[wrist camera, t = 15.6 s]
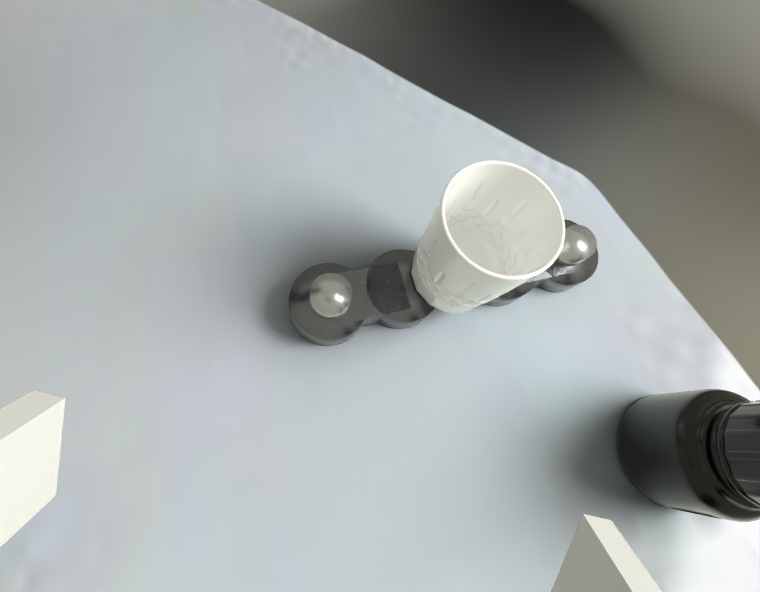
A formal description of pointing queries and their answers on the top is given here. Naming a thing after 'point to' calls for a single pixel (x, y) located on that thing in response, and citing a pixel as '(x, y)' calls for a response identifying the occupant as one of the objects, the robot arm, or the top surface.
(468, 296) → the white cup
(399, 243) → the top surface
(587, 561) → the robot arm
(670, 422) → the ink bottle
